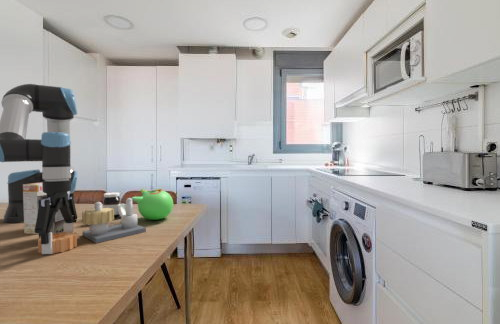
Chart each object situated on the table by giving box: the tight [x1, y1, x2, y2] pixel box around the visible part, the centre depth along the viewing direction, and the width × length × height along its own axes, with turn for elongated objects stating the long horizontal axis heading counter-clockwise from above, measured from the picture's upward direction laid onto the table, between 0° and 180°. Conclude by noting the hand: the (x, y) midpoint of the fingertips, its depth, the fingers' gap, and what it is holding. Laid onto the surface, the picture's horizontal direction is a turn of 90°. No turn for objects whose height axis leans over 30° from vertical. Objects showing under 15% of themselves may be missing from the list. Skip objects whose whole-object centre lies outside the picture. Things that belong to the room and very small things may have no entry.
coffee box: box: [37, 195, 66, 239], centre depth 96 cm, size 9×6×16 cm
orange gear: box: [37, 231, 78, 255], centre depth 85 cm, size 10×10×4 cm
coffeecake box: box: [23, 182, 70, 235], centre depth 108 cm, size 15×7×20 cm, turn 168°
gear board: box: [81, 197, 147, 244], centre depth 101 cm, size 14×20×13 cm
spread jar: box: [102, 192, 126, 219], centre depth 129 cm, size 12×11×12 cm
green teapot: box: [130, 188, 174, 221], centre depth 124 cm, size 18×17×15 cm
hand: (58, 247), depth 85 cm, fingers closed on orange gear, 10 cm apart
